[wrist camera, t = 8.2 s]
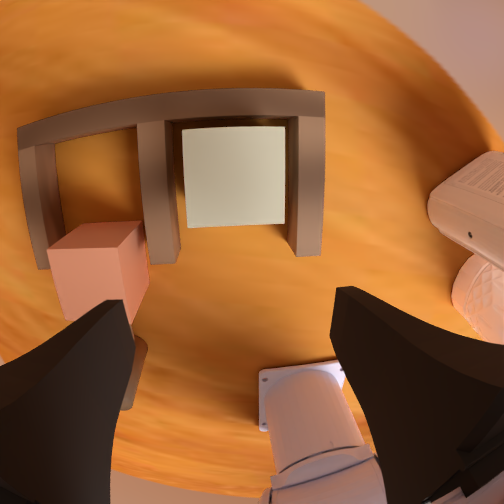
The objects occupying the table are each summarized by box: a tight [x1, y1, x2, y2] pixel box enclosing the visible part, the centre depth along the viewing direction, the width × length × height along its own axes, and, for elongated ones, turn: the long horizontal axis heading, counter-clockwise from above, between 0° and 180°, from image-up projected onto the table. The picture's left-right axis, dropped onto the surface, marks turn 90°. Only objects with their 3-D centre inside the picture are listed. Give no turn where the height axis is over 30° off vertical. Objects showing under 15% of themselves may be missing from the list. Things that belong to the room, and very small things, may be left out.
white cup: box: [451, 254, 504, 345], centre depth 18 cm, size 8×8×10 cm
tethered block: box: [47, 220, 150, 410], centre depth 17 cm, size 11×4×6 cm, turn 179°
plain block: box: [182, 126, 285, 228], centre depth 15 cm, size 4×4×5 cm
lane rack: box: [17, 88, 325, 270], centre depth 16 cm, size 10×18×2 cm, turn 91°
